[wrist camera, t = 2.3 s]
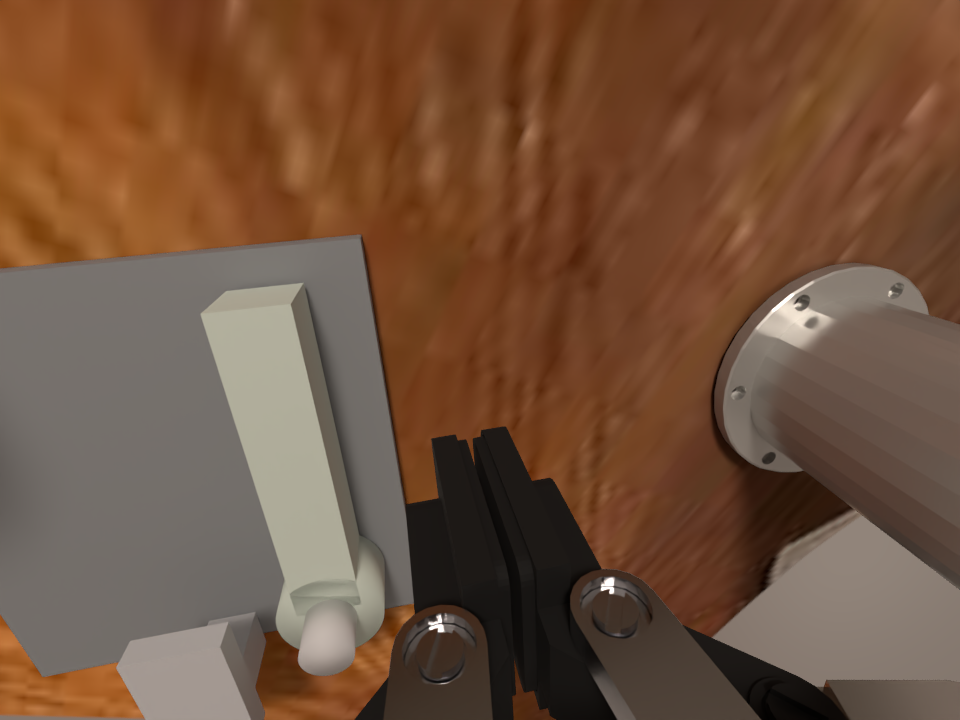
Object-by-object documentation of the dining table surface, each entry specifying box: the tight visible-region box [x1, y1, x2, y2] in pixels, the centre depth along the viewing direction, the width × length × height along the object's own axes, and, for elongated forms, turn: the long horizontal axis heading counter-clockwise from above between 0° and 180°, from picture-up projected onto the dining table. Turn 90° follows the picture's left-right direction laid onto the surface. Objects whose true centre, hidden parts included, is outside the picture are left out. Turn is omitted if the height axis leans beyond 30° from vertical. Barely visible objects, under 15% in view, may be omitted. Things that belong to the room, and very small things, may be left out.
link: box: [200, 283, 385, 676], centre depth 21 cm, size 18×5×5 cm, turn 4°
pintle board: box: [0, 235, 414, 720], centre depth 21 cm, size 20×22×6 cm
